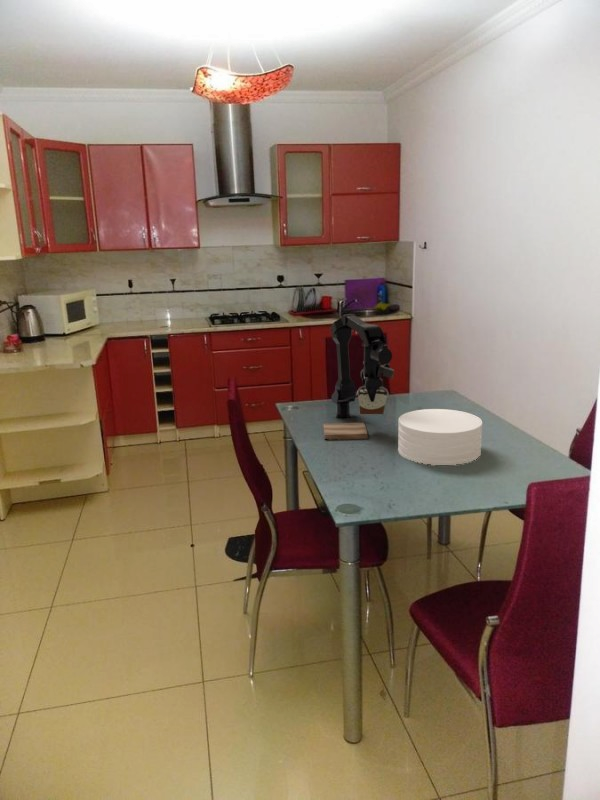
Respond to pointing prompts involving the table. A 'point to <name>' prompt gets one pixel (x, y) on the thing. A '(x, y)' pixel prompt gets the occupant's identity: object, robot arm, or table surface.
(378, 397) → the food container
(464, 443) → the plate stack
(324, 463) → the table surface
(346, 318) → the robot arm
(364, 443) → the table surface
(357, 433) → the walnut block
